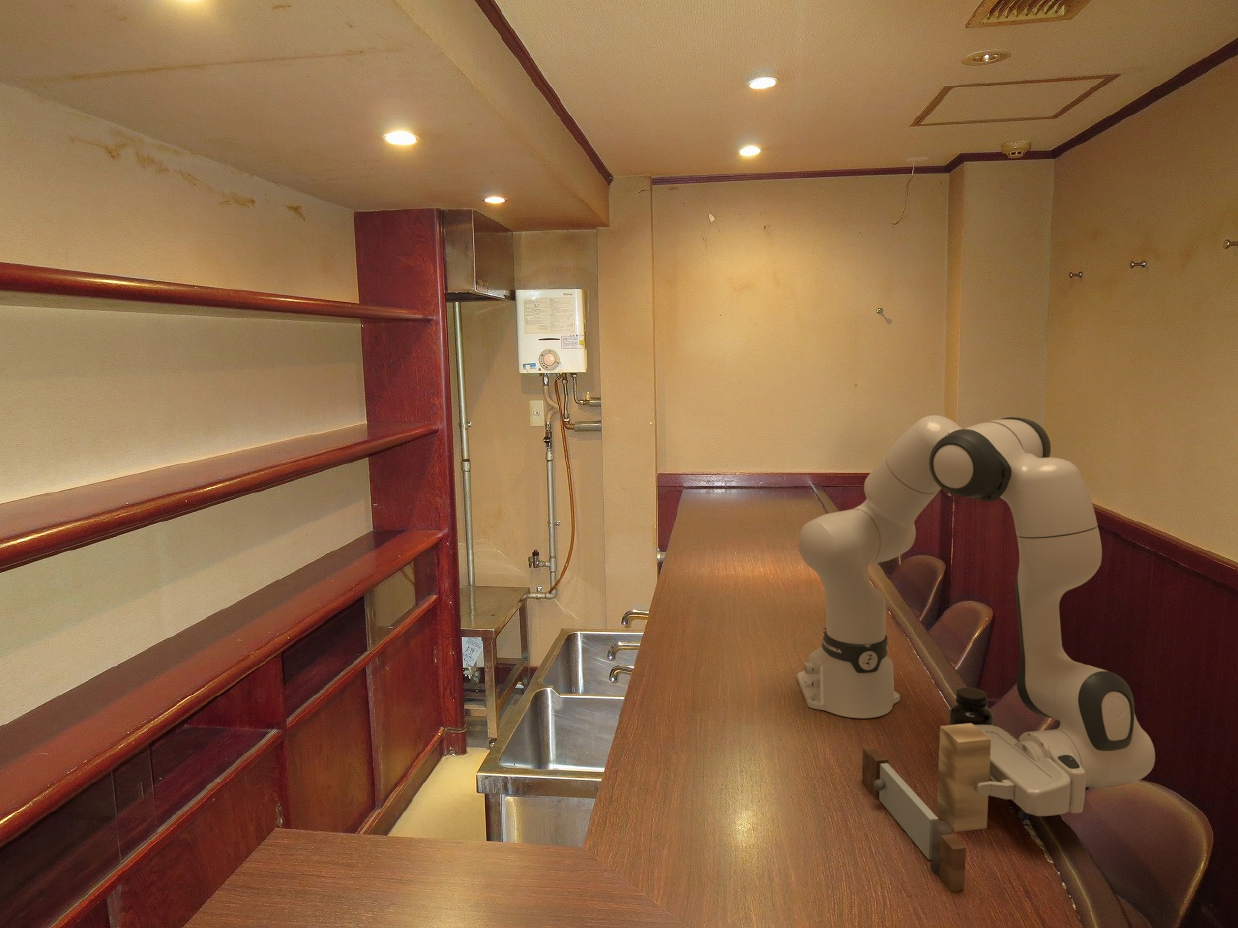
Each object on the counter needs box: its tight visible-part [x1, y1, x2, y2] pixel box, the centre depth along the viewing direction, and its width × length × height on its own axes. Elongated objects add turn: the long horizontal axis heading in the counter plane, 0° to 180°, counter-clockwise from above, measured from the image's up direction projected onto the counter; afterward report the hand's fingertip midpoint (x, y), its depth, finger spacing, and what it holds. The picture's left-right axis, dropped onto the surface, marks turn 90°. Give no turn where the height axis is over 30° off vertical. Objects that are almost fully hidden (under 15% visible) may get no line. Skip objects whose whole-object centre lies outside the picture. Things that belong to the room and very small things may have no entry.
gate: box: [874, 762, 939, 861], centre depth 119 cm, size 15×3×6 cm, turn 8°
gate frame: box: [861, 746, 967, 892], centre depth 119 cm, size 27×2×6 cm, turn 8°
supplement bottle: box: [948, 687, 994, 726], centre depth 138 cm, size 7×7×12 cm
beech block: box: [936, 723, 991, 833], centre depth 121 cm, size 5×5×14 cm
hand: (958, 770), depth 120 cm, fingers open, 8 cm apart
